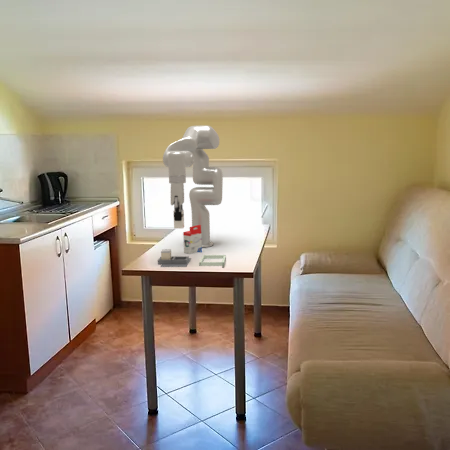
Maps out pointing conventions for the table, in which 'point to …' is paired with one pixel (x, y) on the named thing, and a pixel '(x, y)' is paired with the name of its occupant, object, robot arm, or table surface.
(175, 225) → the grey rectangular block
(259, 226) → the table surface
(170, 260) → the block
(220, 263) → the parts tray
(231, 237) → the table surface
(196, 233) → the ink box
